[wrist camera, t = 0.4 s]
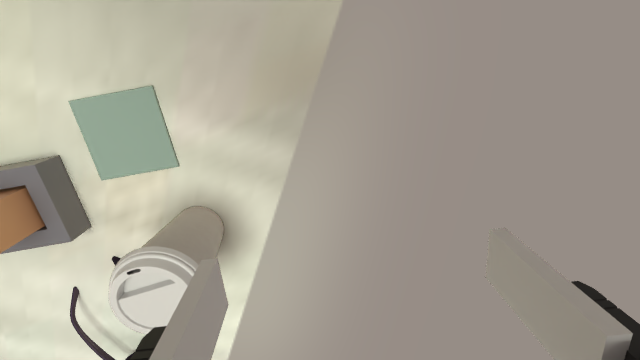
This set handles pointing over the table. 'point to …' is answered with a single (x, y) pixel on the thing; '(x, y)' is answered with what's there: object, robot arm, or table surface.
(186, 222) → the coffee cup
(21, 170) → the grey square frame
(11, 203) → the plug
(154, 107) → the pad
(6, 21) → the table surface
